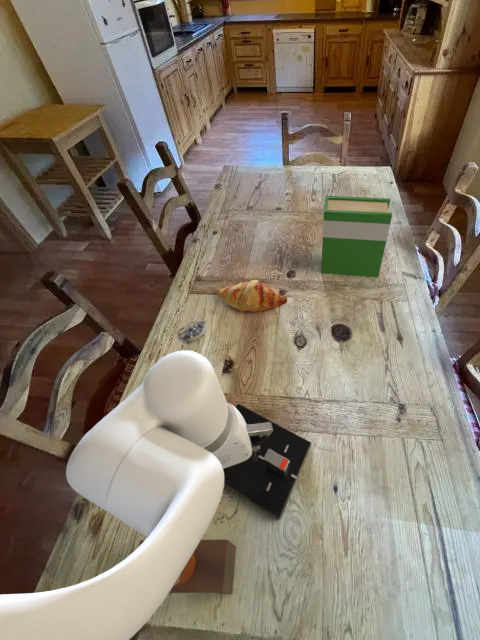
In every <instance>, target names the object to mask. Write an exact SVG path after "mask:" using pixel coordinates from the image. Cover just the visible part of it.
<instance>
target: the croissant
mask: <svg viewBox="0 0 480 640" xmlns="http://www.w3.org/2000/svg"><path fill="white" fill-rule="evenodd" d="M216 295H217V296H218V297H219V298H220V299H221V300H222V301H223V302H225V304H227V305H228V306H230V307H231V308H234V309H237V310H240V312H242V313H243V312H254V313H256V312H262V311H265V310H271V309H275V308H276V309H277V308H279V307H281V306H283V305H285V304H286V303H287V302H288V297H287V296H286V295H282V294H280V292H279V291H278V290H274V289H273V288H270V287H269V285H268V284H265V283H262V282H260V281H259V280H258V279H251V280H250V281H243V282H240V283H238V284H237V285H229V286H226V287H224V288H218V289H217V290H216Z"/></svg>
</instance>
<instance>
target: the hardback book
mask: <svg viewBox="0 0 480 640" xmlns="http://www.w3.org/2000/svg"><path fill="white" fill-rule="evenodd" d="M390 203H391V198H389V197H388V198H387V197H386V198H385V197H364V196H363V197H362V196H344V195H343V196H341V195H325V197H324V207H323V224H322V241H321V242H322V243H321V265H320V274H327V275H342V276H356V277H367V278H368V277H371V278H379V276H380V272H381V267H382V262H383V260H384V255H385V249H386V245H387V241H388V236H389V231H390V228H391V224H392V223H391V222H392V219H393V212H389V209H390Z"/></svg>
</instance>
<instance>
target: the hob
mask: <svg viewBox="0 0 480 640" xmlns="http://www.w3.org/2000/svg"><path fill="white" fill-rule="evenodd" d="M234 407H235V408H236V409H237V410H238V411H239V412H240V413H241V415H242V416H243V418H244V420H245V422H246V424H247V425H249V424H257V423H265V422H271V424H272V428H273V432H272V433H271V434H270V435H269V436H267V437H268V439H267V440H266V441H265V442H263V443H262V444H261V445H259V446H260V450H259V452H258V453H256V458H257V461H255V462H254V461H252V459H251V456H250V458H249V459H247V460H245V461H243V462H241V463H239V464H235V465H232V466H230V467H227V468H224V469H223V471H224V487H226V488H228V489H230V490H231V491H232V492H234V493H236V494H237V495H238V496H241V497H242V498H244V499H245V500H247V501H248V502H250V503H251V504H253V505H255V506H256V507H258V508H260V510H263V511H264V512H265V513H267V514H268V515H270V516H271V517H273V518H275V519H276V520H278V521H281V519H282V517H283V514H284V512H285V510H286V507H287V505H288V502H289V500H290V498H291V495H292V493H293V491H294V488H295V485H296V483H297V481H298V479H299V477H300V474H301V471H302V468H303V467H304V465H305V462H306V460H307V457H308V455H309V452H310V449H311V447H312V442H311V441H309V440H308V439H306V438H303V437H302V436H300V435H298V434H296V433H294V432H292V431H290V430H289V429H287V428H285V427H283V426H281V425H279V424H277V423H276V422H273V421H271V420H270V419H268V418H266V417H264V416H262V415H260V414H259V413H256V412H254V411H252V410H251V409H249V408H247V407H245V406H243V405H241V404H240V403H237V404H236V405H235V406H234ZM268 449H270V450H272V451H274V452H276V453H277V454H279V455H281V456H283V457H284V458H286V459H288V460H289V461H290V470H289V472H288V474H287V477H286V478H284V477H283V476H281V475H279V474H278V473H276V472H274V471H272V470H271V469H269V468H267V467H266V466H265V462H264V457H265V455H266V453H267V451H268Z"/></svg>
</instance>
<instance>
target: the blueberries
mask: <svg viewBox="0 0 480 640" xmlns="http://www.w3.org/2000/svg"><path fill="white" fill-rule="evenodd" d="M206 333H207V327H206V321H205V320H204V319H196V320H195V321H193V322H192V324H191V323H189V325H185V326H184V327H183V328H180V330H179V333H178V335H179V337H180V340H183V341H187V343H189V344H190V343H191V344H192V343H193V342H194V341H197V340H198V339H199V338H201V337H203V336H204V335H205V334H206Z"/></svg>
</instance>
